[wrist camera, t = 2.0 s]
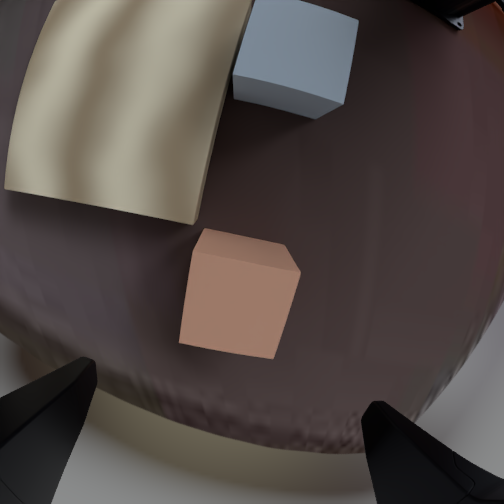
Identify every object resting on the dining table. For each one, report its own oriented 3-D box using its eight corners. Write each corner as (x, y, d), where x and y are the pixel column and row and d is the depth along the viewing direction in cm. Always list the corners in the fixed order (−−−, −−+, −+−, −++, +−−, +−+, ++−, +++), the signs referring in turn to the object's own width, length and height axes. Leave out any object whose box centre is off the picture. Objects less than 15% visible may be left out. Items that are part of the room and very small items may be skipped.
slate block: (329, 51, 15) (358, 20, 10) (314, 119, 16) (343, 104, 11) (252, 31, 14) (258, -9, 9) (233, 99, 16) (232, 74, 11)
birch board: (250, 11, 14) (252, -4, 12) (197, 218, 17) (193, 225, 15) (67, 10, 12) (55, 0, 10) (20, 185, 16) (4, 189, 14)
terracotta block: (284, 244, 18) (300, 272, 13) (264, 314, 20) (273, 359, 15) (204, 227, 18) (192, 250, 13) (191, 300, 19) (179, 342, 14)
